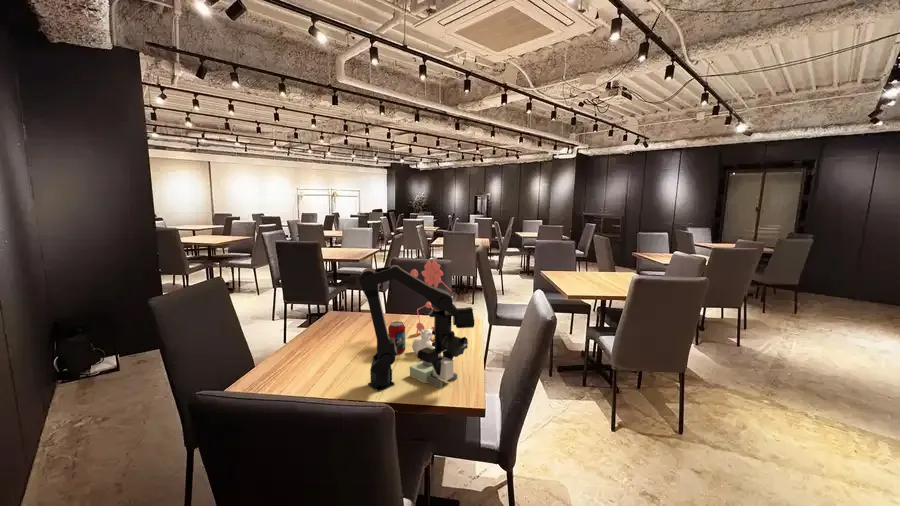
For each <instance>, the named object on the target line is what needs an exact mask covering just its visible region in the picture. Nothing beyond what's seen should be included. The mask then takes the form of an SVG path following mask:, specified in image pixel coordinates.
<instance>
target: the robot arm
mask: <svg viewBox="0 0 900 506" xmlns="http://www.w3.org/2000/svg"><path fill="white" fill-rule="evenodd" d="M410 273H411V272H408V271H406V270H404V269H403V268H401V267H400V266H399V264H398V265H397V264H393V265H390V266H385V267H378V268H373V267H366V268H364V269H363V270H362V272H361V273H360V275H359V277H358V283H359V285H360V287H361V290H362V292H363V294H364V296H365V298H366V299H367V303H368V307H369V310H370V312H369V313H370V315H371V319H372V320H371V321H372V325H373V328H374V333H375V337H376V353H375V354H374V355H372V358H371V359H372V360H371V365H370V369H369V370H370V372H369V373H370V382H368V383H367V386H369V387H370V388H372V389H374V390H376V391H377V392H381V391H383V390H385V389H388V388H389V387H392V386H394V385H395V382H394V381H393V369H392V365H394V363H395V361H396V356H398V354H397V347H396V345H395V338H394V337H393V338H390V337H389V335H388V328H387V323H386V320H385V316H384V310H383V306H382V302H381V297H380V284H383V283H385V282H388V281H392V280H396V281H397V282H400V283H401V284H403V285H404V286H406V287H408V288H409V289H411V290H412V291H414V292H416V293H418V294H420V295H421V296H423V297H424V298H425V299H426V300H427V301H428V302H429V301H430V303H431V305H433V306H434V307H435V308H436V309H435V308H434V307H432V308H433V309H432V308H431V310H430V311H429V312H428V315H429V317H430V318H434V322H433V325H434V326H433V327H434V331H433V330H432V334H433V335H432V336H434V340H433V341H432V346H434V347H435V349H430V348H428V347H426V348H424V349H421V350H419V351H418V355H417V359H418V360H421V361H425V362H428V363H432V365H433V367H434V369H435V371H436V373H437V375H440V372H441V361H442V360H443V359H444V358H442V357H441V356H444V357H446V358H449V359H452V360H454V358H456V357H460V356H461V355H463V354H464V352H465V350H466V349H468V348H469V347H468V344H469V342H468V338H467V337H466V336H463V337H459V336H456V335H455V331H453V330H452V324H453V326H455V328H456V329H469V328H471V329H473V328H475V317H474V309H473V307H472V306H471V307H470V306H469V307H468V306H467V307H457V306H456V305H455V304H454V302H453V298H452V296H451V295H450V293H449V292H448V291H447V290H445V289H442V288H441V287H440V288H439V287H434V285H432V286H430V285H428V283H425V281H423V280H421V279H420V278H419V277H415V276H413V275H411V274H410Z"/></svg>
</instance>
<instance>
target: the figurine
mask: <svg viewBox="0 0 900 506" xmlns="http://www.w3.org/2000/svg"><path fill="white" fill-rule="evenodd" d="M423 267H424V268H423V269H424V270H422V271H421V275H422V277H424V279H423V280H424V281H423V282H425V283H426V284H428V285H430V286H433V287H437V288H439V287H438V286H439V284H441V283H442V284H443V285H444V287H446V288H447V289H448V290H449V291H450V292H452V289H451V288H449V286H448V285H446V283H445V282H444V281H442V278H441V277H442V276H444V272H443V271H442V270H441V269H440V268H441V264H439V263H437V260H433V261H432V262H431V260H430V259H427V260H426V264H424V266H423ZM409 273H410V274H411V275H413V276H415V277H416V278H419V271H418V270H417V269H416V268H414V269H411V271H410V272H409ZM424 307H426V308H427V309H430V308H431V310H432V309H433V308H434V307H432V303H431V302H430V301H429V300H428V301H427V302H426V303H425V305H423V306H421V307H419V308H417V309H416V313H417V317H418V322H417V323H416V326H415V327H416V333H415V335H414V336H415V337H417V335H418V333H421V329H422V330H424V329H430V328H428V327H427V328H425V325H424V324H423V323H422V322H421V321H420V320H421V319H420V315H419V310H421V309H423V308H424ZM431 330H432V331H434V326H432V327H431ZM433 336H434V335H433V334H432V337H433ZM432 337H430V338H429V339H430V341H431V340H432ZM431 342H432V341H431Z"/></svg>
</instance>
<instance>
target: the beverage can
mask: <svg viewBox="0 0 900 506" xmlns="http://www.w3.org/2000/svg"><path fill="white" fill-rule="evenodd" d="M387 332H388V335H389V337H390V338H393V337H394V338H395V345H396V347H397V355H400V354H402V353H404V352H405V351H406V326H405V324H404V322H403V321H398V320H397V321H393V322H390V324H389V325H388V328H387Z"/></svg>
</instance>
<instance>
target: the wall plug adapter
mask: <svg viewBox="0 0 900 506" xmlns="http://www.w3.org/2000/svg"><path fill="white" fill-rule="evenodd" d="M409 376H410V377H412V378H414V379H416V380H418V381H420V382H422V383H424V384H426V383H428V384H431V385H432V386H435V387H438V388H439V389H441V388H443V380H442V379H439V378H437V377H435V376H433V365H432V363H428V362H425V361H423V360H421V361H419V362H416V363H415V364H412V365H410V366H409ZM453 379H454V381H456V379H457V380H458V373H456V372H453V377H452V378H451V380H453Z"/></svg>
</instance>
